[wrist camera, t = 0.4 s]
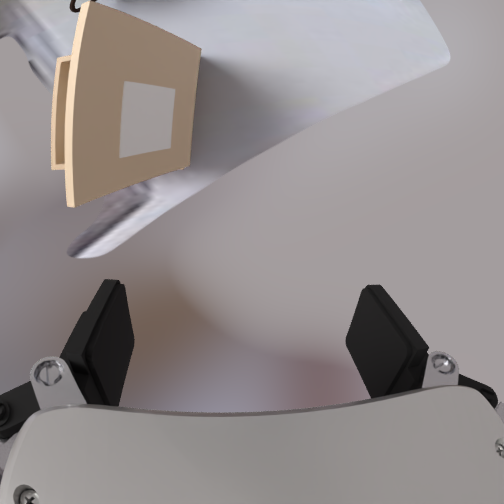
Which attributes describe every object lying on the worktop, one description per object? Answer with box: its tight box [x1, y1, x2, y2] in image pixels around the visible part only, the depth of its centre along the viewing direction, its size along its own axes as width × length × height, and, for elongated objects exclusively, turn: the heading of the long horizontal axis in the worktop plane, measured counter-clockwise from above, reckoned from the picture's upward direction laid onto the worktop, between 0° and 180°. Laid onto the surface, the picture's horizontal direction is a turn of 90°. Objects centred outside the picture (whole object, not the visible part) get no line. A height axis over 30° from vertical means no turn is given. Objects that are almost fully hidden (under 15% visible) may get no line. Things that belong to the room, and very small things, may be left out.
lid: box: [65, 1, 201, 208], centre depth 22 cm, size 14×18×1 cm
